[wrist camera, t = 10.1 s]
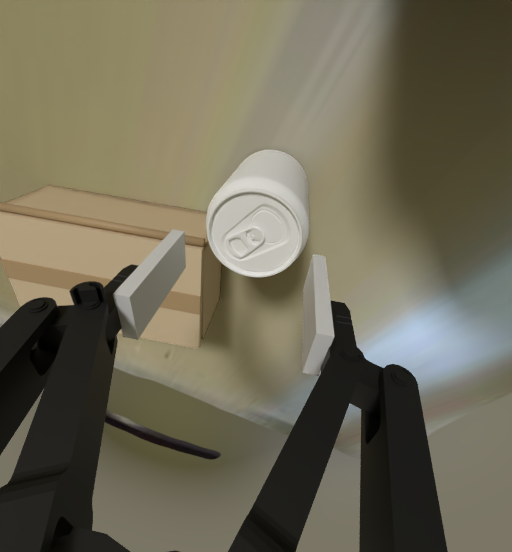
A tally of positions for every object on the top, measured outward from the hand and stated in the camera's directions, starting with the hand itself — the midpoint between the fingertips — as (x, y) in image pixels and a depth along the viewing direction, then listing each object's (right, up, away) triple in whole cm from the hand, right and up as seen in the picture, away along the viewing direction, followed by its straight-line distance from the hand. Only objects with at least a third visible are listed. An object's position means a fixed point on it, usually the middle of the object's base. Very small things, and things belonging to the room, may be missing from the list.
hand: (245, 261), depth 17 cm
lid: (-16, -1, +12) cm, 20 cm away
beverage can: (+2, +9, +13) cm, 15 cm away
